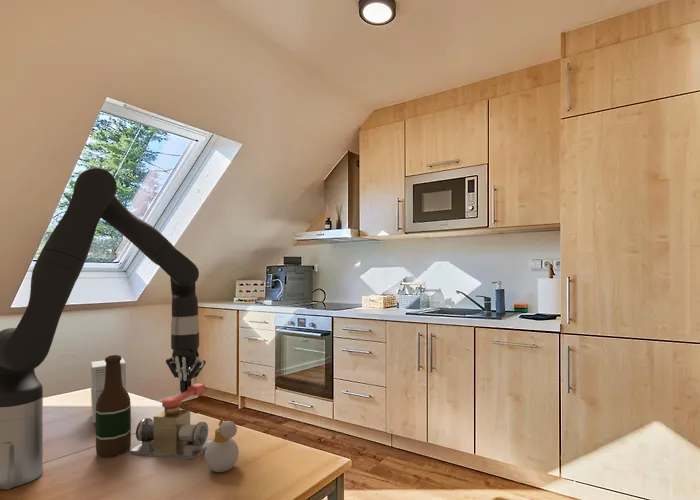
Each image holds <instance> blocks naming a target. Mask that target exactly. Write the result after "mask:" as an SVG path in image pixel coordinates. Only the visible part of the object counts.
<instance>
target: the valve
mask: <svg viewBox="0 0 700 500" xmlns="http://www.w3.org/2000/svg"><path fill="white" fill-rule="evenodd" d="M180 406H181V405H179V406H176V407H170V408H166V407H163V408H164V410H163V411H162V412H160V413H158V414H156V415H154V416H153V419H152V418H150V417H145V418H142V419H141V420H140V421H139V422H138V424H137V426H136V430H135V438H136V440H137V441H139V442H141V443H139V444H138V445H136V446H134V447H133V448H130V449H128V451H129V454H130V455H138V456H140V455H141V456H147V457H148V456H150V457H159V458H160V457H162V458H172V459H173V458H175V459H184V460H195V459H197V458H199V456H201V455H202V454H203V453H205V451H206V448H207V446H208V445H209V444H210V442H212V441H213V440H207V438H208V435H209V424H208V423H207V422H206V421H199V422H198V423H196V424H191V409H182V408H180Z"/></svg>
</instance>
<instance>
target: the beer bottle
mask: <svg viewBox="0 0 700 500" xmlns="http://www.w3.org/2000/svg"><path fill="white" fill-rule="evenodd" d="M121 358H122V356H121V355H119V354H113V355H108V356H107V357H105V359H104V360H105V362H106V372H105V384H104V390H103V391H102V392H101V394H100V395H99V397H98V400H97V403H96V423H95V454H96V455H97V456H98V457H100V458H101V459H103V458H104V459H105V458H114V457H118V456H120V455H123V454H125V453H127V452H128V451H129V450H130V449H131V445H132V444H131V441H132V433H131V432H132V431H131V430H132V429H131V428H132V423H131V421H132V419H131V418H132V414H131V413H132V412H131V411H132V410H131V407H132V405H131V397H130V395H129V392H128V391H127V389H126V390H125V389H124V387H123V384H122V377H121V364H120V360H122V359H121Z"/></svg>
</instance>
